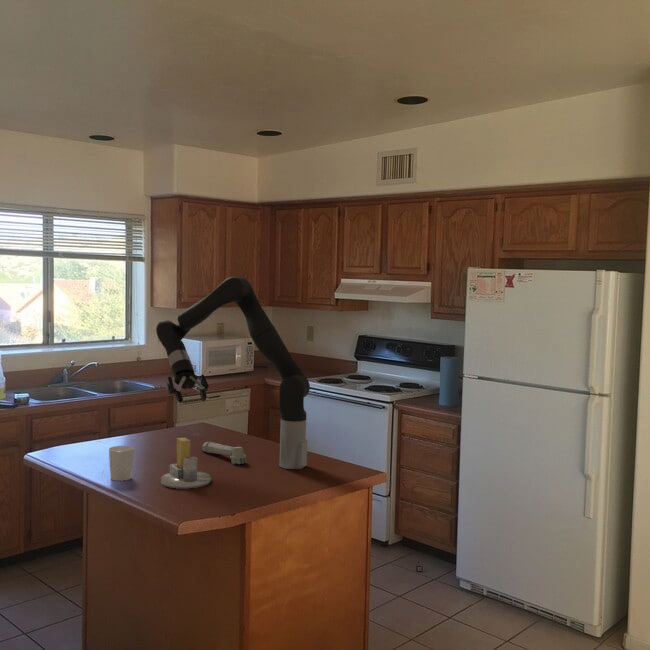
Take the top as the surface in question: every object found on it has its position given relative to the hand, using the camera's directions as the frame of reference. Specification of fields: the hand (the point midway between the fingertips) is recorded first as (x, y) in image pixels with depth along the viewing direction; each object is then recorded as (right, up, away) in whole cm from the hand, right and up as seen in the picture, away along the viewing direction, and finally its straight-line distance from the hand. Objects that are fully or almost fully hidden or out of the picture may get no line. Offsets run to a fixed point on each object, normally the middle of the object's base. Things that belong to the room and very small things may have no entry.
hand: (193, 400), depth 245 cm
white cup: (-21, -24, -15) cm, 35 cm away
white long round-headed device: (+8, -23, +16) cm, 29 cm away
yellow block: (-1, -23, -15) cm, 27 cm away
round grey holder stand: (+1, -25, -17) cm, 30 cm away
